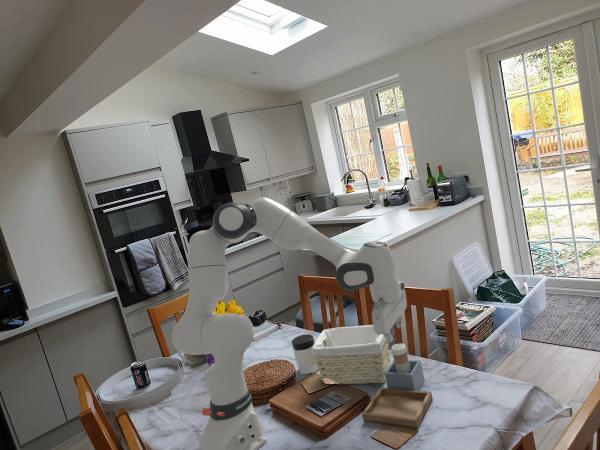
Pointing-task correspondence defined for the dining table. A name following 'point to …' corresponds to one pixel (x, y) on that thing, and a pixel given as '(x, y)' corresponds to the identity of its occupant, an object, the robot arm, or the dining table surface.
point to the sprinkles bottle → (401, 358)
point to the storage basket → (352, 355)
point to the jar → (304, 353)
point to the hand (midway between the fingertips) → (395, 334)
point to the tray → (398, 407)
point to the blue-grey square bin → (405, 377)
